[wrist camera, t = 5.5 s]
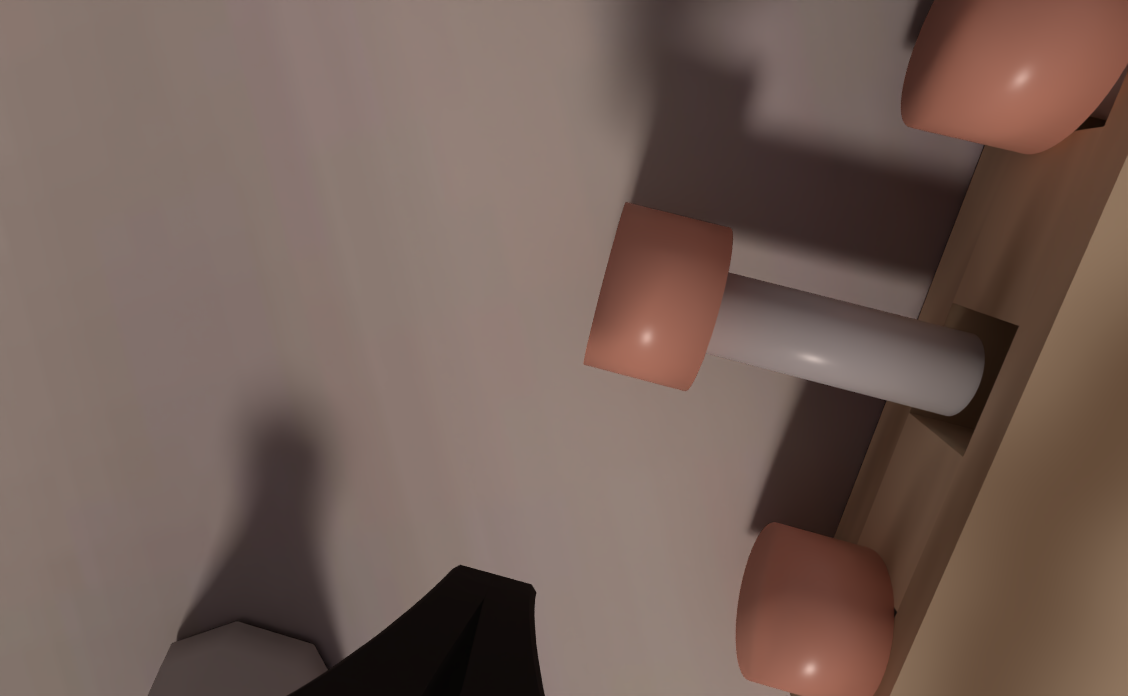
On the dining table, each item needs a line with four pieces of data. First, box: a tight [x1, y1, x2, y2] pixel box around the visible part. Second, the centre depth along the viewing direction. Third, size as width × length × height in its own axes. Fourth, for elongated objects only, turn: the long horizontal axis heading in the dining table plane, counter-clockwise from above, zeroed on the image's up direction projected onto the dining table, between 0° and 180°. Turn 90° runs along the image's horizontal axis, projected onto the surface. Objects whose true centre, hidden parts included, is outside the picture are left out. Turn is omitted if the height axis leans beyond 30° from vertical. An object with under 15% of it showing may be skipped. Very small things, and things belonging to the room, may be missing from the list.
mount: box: [790, 72, 1128, 696], centre depth 15 cm, size 5×22×6 cm, turn 167°
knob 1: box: [584, 202, 985, 416], centre depth 15 cm, size 8×4×4 cm, turn 77°
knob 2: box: [736, 522, 897, 696], centre depth 17 cm, size 8×4×4 cm, turn 77°
